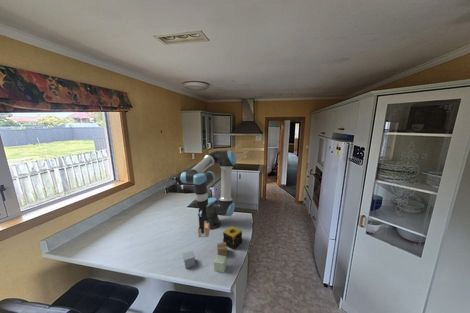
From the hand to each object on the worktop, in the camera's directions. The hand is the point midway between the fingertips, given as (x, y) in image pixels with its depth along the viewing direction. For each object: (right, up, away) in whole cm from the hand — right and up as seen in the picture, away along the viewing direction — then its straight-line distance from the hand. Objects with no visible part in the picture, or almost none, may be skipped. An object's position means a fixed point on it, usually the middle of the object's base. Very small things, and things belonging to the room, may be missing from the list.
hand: (204, 233), depth 112 cm
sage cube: (+11, -19, -4) cm, 22 cm away
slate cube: (-9, -19, 0) cm, 21 cm away
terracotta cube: (0, 0, 0) cm, 0 cm away
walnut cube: (+11, -17, +8) cm, 22 cm away
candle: (+18, -15, +18) cm, 29 cm away
